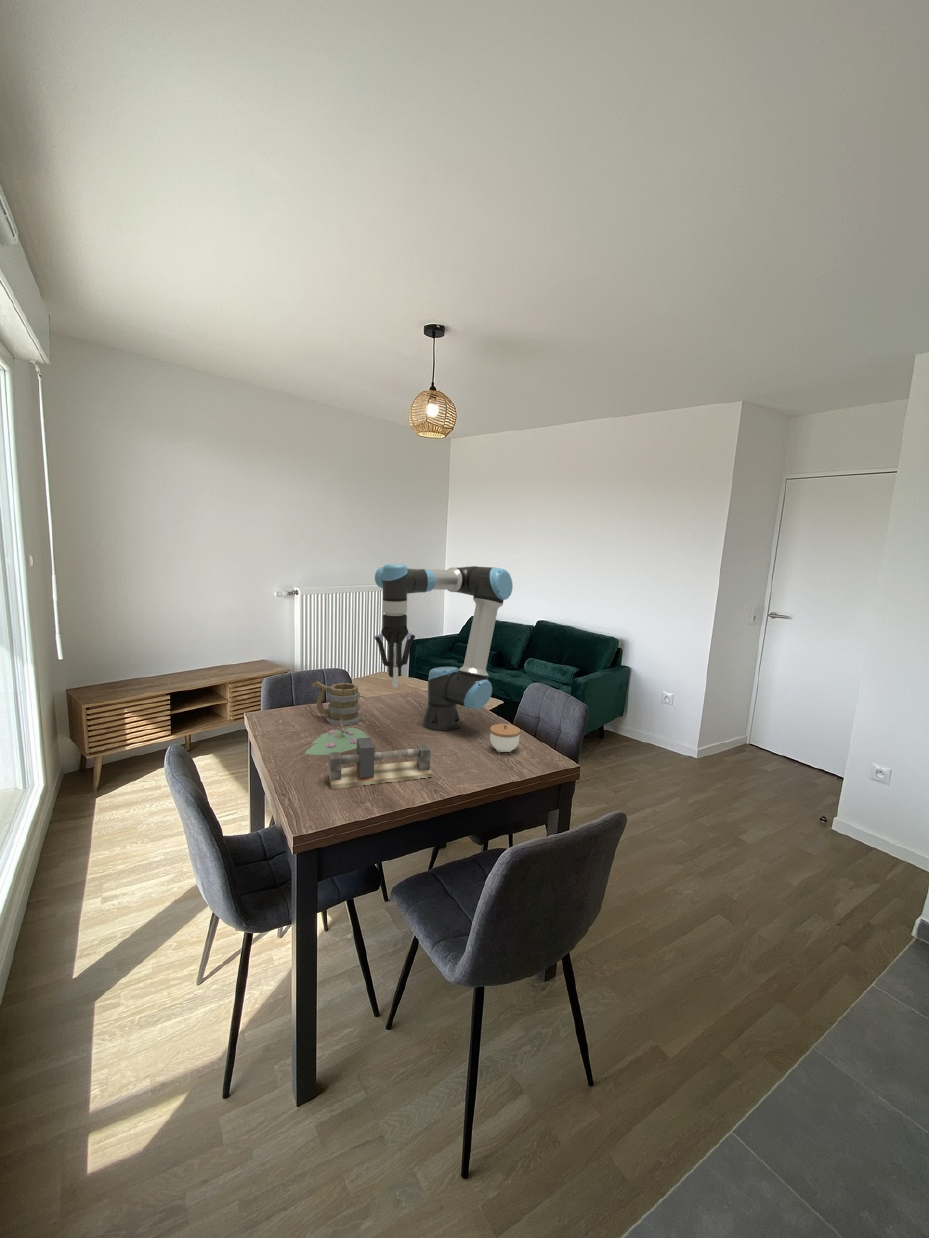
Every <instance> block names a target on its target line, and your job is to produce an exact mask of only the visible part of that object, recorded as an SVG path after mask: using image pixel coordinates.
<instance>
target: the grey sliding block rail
mask: <svg viewBox="0 0 929 1238" xmlns="http://www.w3.org/2000/svg"><path fill="white" fill-rule="evenodd" d="M431 752H432V751H431V748H430V747H429V745H428V744H427V743H421V744H416V748H409V749H398V750H388V751H387V750H386V751H378V752H377V751H376V752H375V751H374V762H376V761H385V760H394V759H395V760H396V759H404V758H414V757H415V758H416V760H410V761H402V762H401V761H400V762H394V763H393V762H392V763H390V762H389V763H382V764H374V777H369V778H360V776H359V773H358V770H357V767H356V766H353V767H344V768H343V767H342V765H345V764H354V763H356V764H357V762H359V754H357V753H355V754H343V755H341V753H340V752H333V753H329V755H328V768H329V769H328V780H329V784H330V785H329V786H330V790H339V789H346V788H347V789H349V788H356V787H357V786H358V787H364V786H363V785H366V786H371V785H370V784H375V785H379V784H378V783H383V784H386V783H385V782H392V783H397V782H398V781H401V782H405V781H404V780H409V781H414V780H413V779H418V780H421V779H420V778H426V779H428V778H427V777H432V778H433V772H432V771H431ZM398 783H399V782H398Z"/></svg>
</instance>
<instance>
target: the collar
mask: <svg viewBox="0 0 929 1238" xmlns="http://www.w3.org/2000/svg"><path fill="white" fill-rule="evenodd" d="M374 753H375V745H374V743H373V742H372V738H371V737H368V738H359V739H357V748H356V754H359V762H357V763H356V766H355V767H357V770H358V773H359V776H360V778H369V777H374V765H375V761H374Z"/></svg>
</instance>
